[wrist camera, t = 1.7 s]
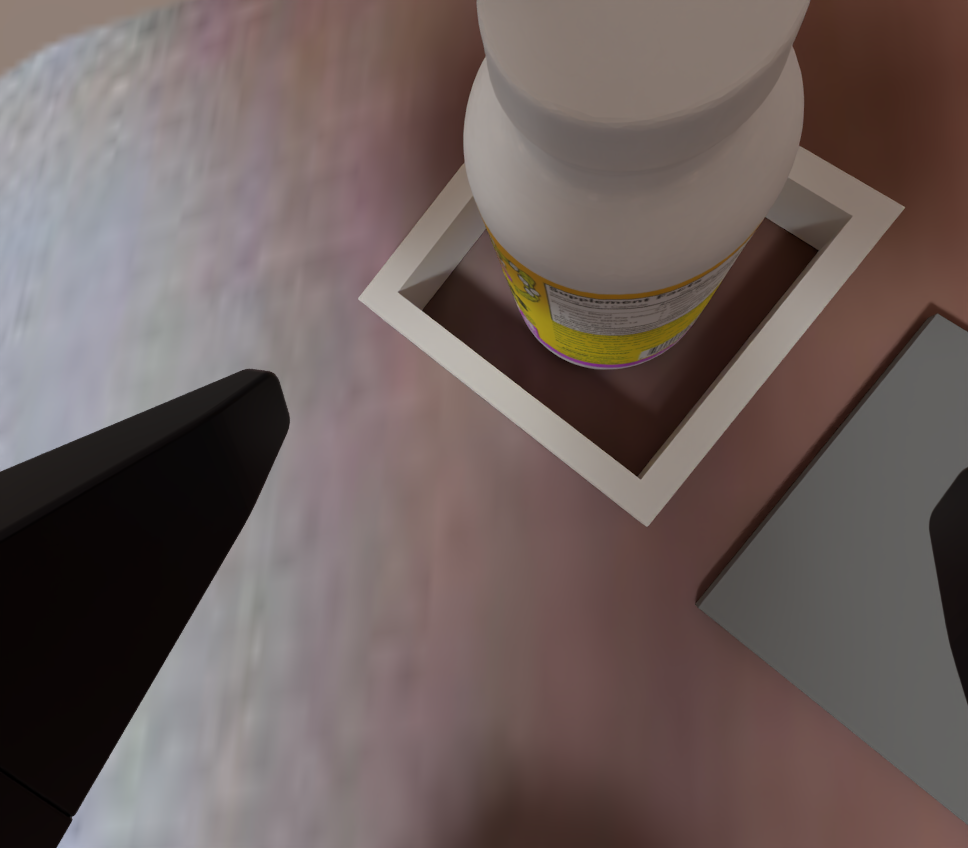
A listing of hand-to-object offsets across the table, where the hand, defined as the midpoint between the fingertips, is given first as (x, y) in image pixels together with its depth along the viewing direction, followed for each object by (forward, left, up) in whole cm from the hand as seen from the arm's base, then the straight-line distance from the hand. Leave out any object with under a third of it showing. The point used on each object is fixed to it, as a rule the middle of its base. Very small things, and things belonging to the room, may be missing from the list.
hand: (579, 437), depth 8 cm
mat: (+5, -12, -12) cm, 18 cm away
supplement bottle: (+6, +3, -13) cm, 14 cm away
